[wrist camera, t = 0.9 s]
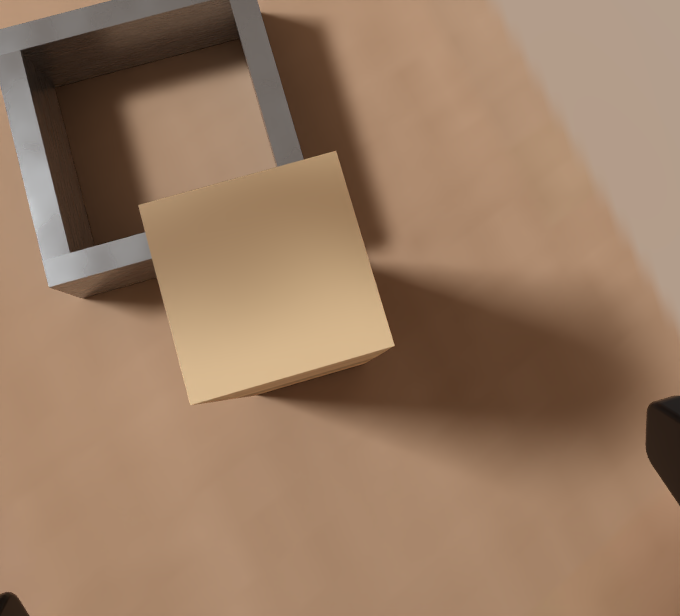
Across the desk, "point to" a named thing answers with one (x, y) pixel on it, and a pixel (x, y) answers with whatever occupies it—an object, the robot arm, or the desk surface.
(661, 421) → the robot arm
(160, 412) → the desk surface
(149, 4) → the grey square tray
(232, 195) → the rectangular block
